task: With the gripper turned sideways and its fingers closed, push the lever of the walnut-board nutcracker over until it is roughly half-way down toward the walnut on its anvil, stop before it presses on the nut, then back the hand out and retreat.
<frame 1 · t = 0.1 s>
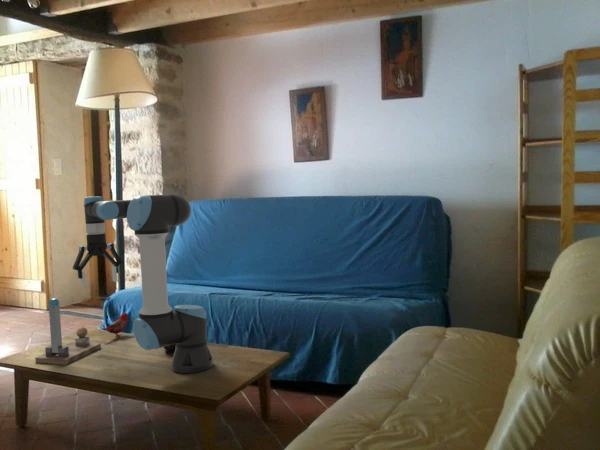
hand: (99, 283, 228), 28 cm above the table, tool pointing down, fingers open, 13 cm apart
pine cone: (180, 349, 227), on the table
decorative bird figurine: (115, 337, 248), on the table
nutcracker base: (57, 360, 216), on the table
lever: (55, 326, 215), point 14 cm above the table, hinge at 0.0°
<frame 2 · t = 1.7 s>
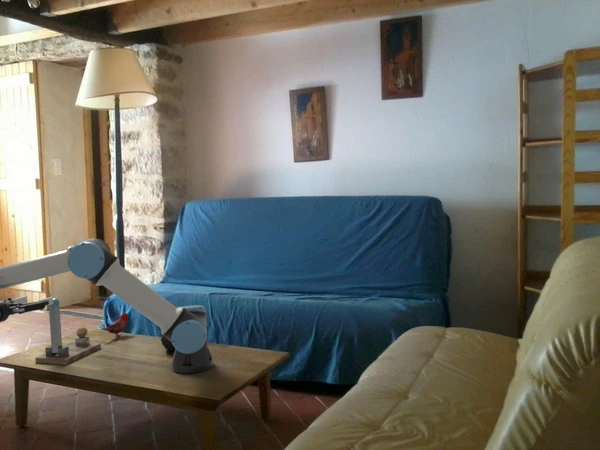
hand: (39, 299, 207), 26 cm above the table, tool horizontal, fingers open, 11 cm apart
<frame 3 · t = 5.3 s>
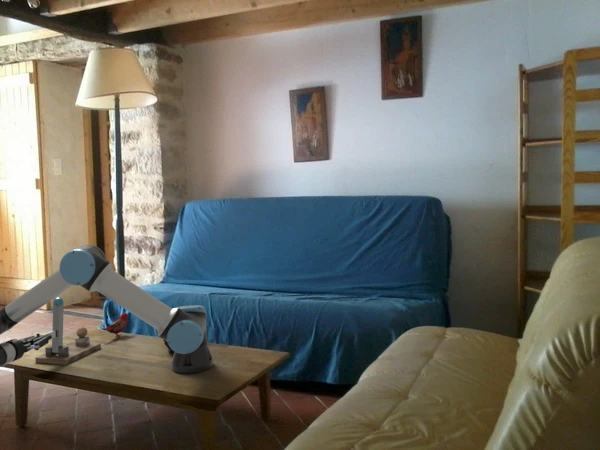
hand: (53, 333, 215), 11 cm above the table, tool horizontal, fingers closed
lever: (57, 325, 216), point 14 cm above the table, hinge at 7.6°, touching gripper
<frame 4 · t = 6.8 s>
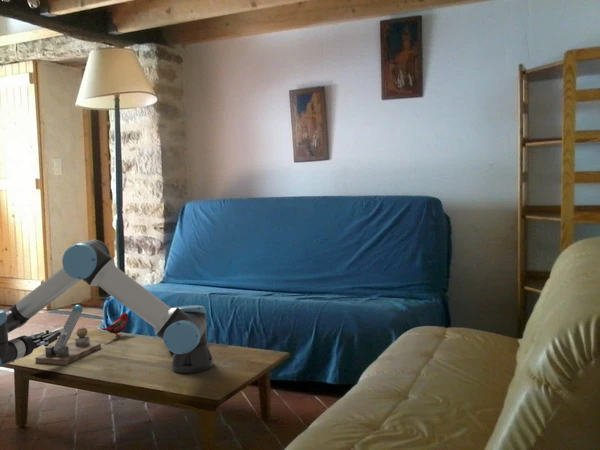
hand: (62, 330, 219), 11 cm above the table, tool horizontal, fingers closed
lever: (68, 329, 222), point 11 cm above the table, hinge at 44.5°, touching gripper
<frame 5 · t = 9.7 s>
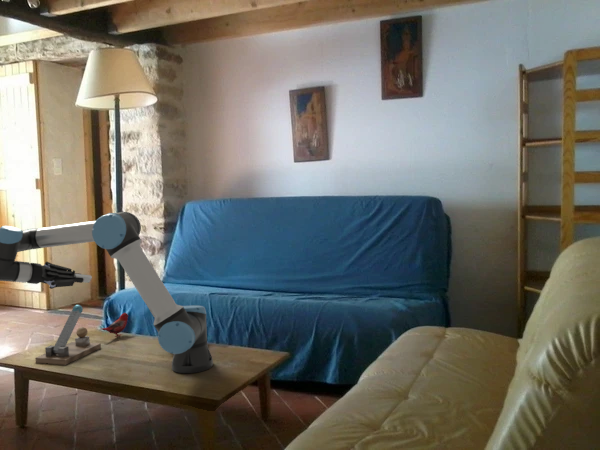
hand: (90, 279, 215), 32 cm above the table, tool horizontal, fingers closed
lever: (68, 329, 222), point 11 cm above the table, hinge at 44.5°
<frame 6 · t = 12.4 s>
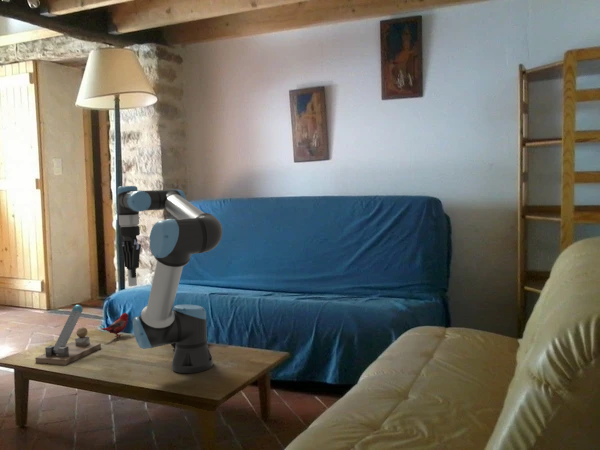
hand: (132, 285, 213), 29 cm above the table, tool pointing down, fingers closed
at the end: lever at +44° (first picture: +0°) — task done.
